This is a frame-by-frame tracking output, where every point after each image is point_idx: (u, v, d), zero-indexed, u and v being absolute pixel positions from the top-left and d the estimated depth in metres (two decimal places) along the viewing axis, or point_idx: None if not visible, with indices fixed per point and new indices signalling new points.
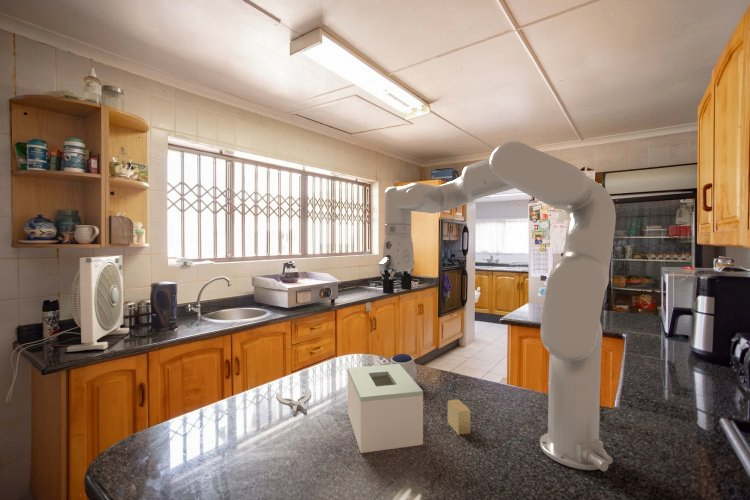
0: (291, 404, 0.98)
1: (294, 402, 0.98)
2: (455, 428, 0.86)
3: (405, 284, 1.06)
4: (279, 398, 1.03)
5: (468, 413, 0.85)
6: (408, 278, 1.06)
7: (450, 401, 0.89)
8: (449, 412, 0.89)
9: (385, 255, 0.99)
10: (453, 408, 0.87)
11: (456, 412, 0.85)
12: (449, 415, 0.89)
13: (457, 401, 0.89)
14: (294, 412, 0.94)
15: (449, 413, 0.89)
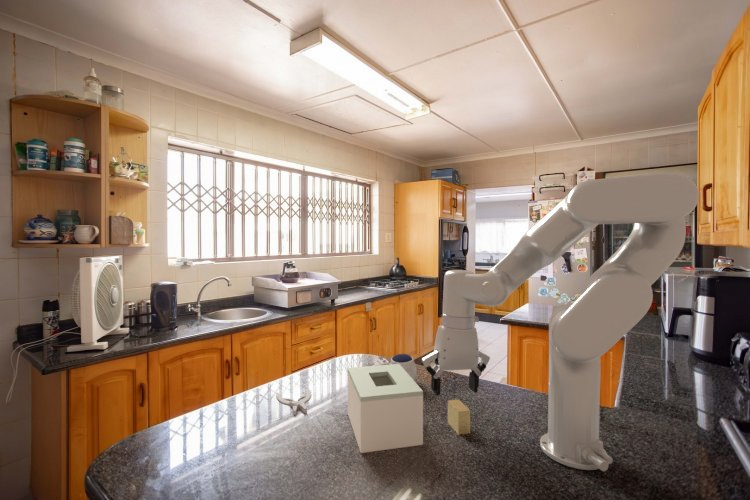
0: (291, 404, 0.98)
1: (294, 402, 0.98)
2: (455, 428, 0.86)
3: None
4: (279, 398, 1.03)
5: (468, 413, 0.85)
6: None
7: (450, 401, 0.89)
8: (449, 412, 0.89)
9: None
10: (453, 408, 0.87)
11: (456, 412, 0.85)
12: (449, 415, 0.89)
13: (457, 401, 0.89)
14: (294, 412, 0.94)
15: (449, 413, 0.89)
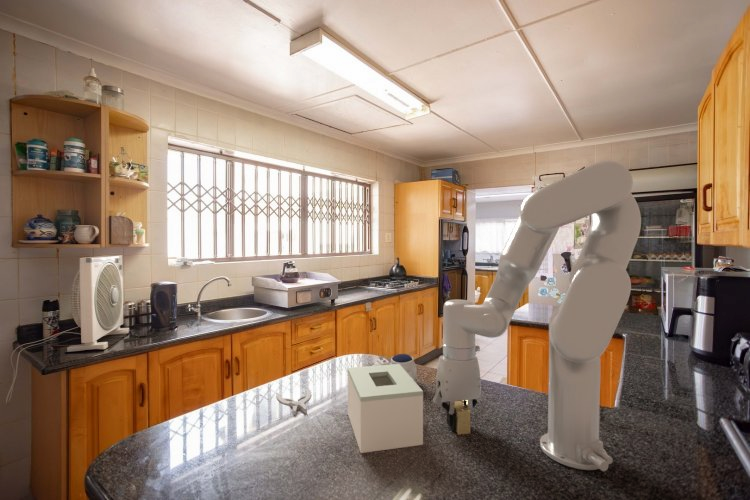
0: (291, 404, 0.98)
1: (294, 402, 0.98)
2: None
3: None
4: (279, 398, 1.03)
5: (468, 413, 0.85)
6: None
7: None
8: None
9: None
10: None
11: (456, 412, 0.85)
12: None
13: (457, 401, 0.89)
14: (294, 412, 0.94)
15: None
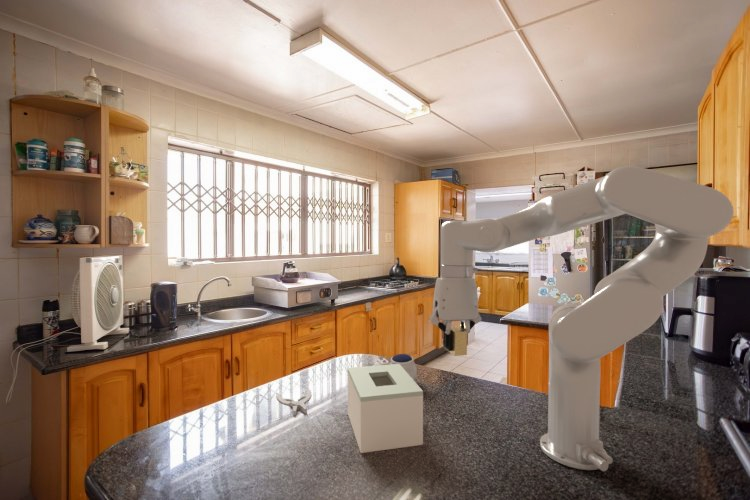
0: (291, 404, 0.98)
1: (294, 402, 0.98)
2: (452, 350, 0.85)
3: None
4: (279, 398, 1.03)
5: (465, 334, 0.84)
6: None
7: None
8: None
9: None
10: None
11: (453, 333, 0.85)
12: None
13: (454, 326, 0.89)
14: (294, 412, 0.94)
15: None
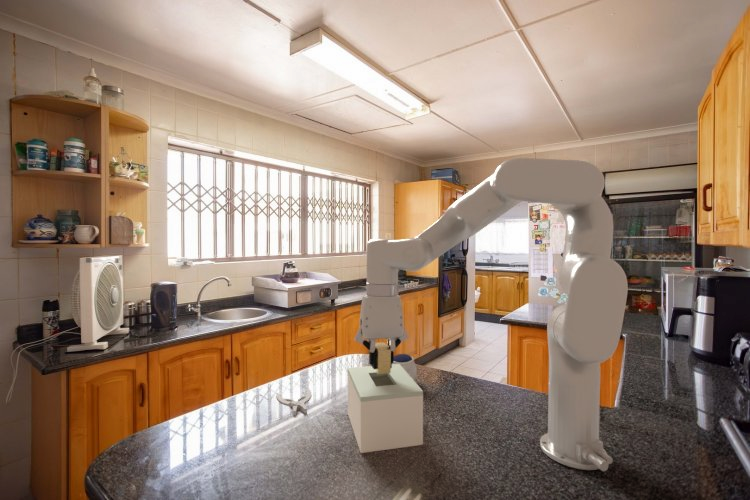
0: (291, 404, 0.98)
1: (294, 402, 0.98)
2: (376, 368, 0.85)
3: None
4: (279, 398, 1.02)
5: (388, 352, 0.84)
6: None
7: None
8: None
9: None
10: (375, 348, 0.86)
11: (377, 351, 0.85)
12: None
13: (382, 343, 0.89)
14: (294, 412, 0.94)
15: None
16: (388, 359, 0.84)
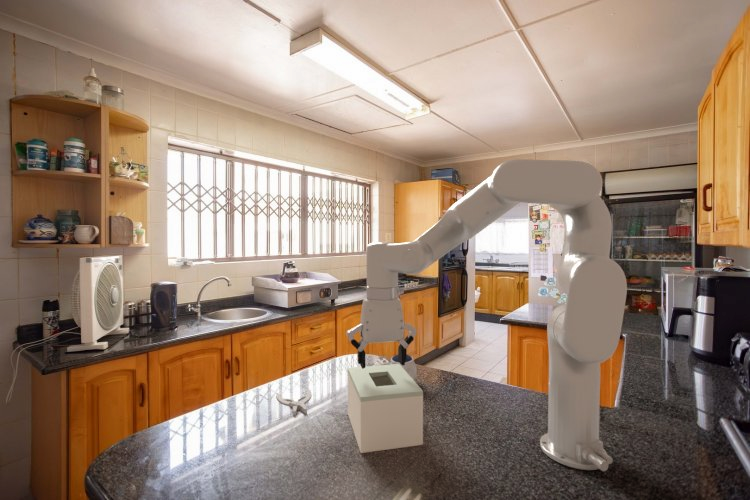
0: (291, 404, 0.98)
1: (294, 403, 0.98)
2: None
3: None
4: (279, 398, 1.02)
5: None
6: None
7: None
8: None
9: None
10: None
11: None
12: None
13: None
14: (294, 413, 0.93)
15: None
16: None
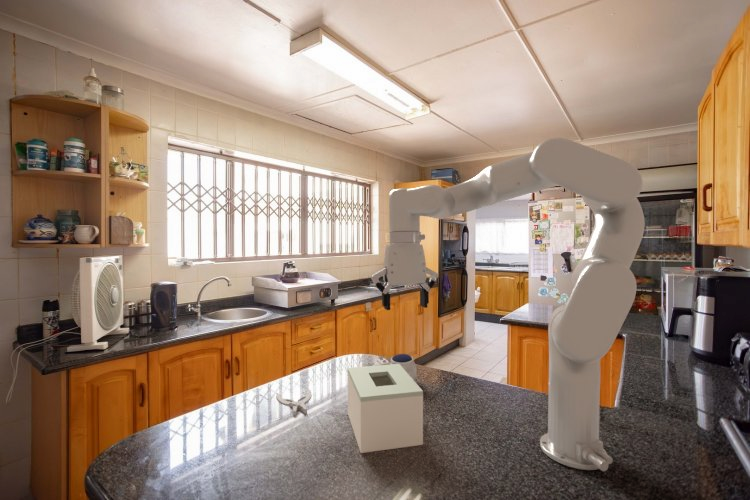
0: (291, 405, 0.98)
1: (294, 403, 0.98)
2: None
3: None
4: (279, 399, 1.02)
5: None
6: None
7: None
8: None
9: None
10: None
11: None
12: None
13: None
14: (294, 413, 0.93)
15: None
16: None
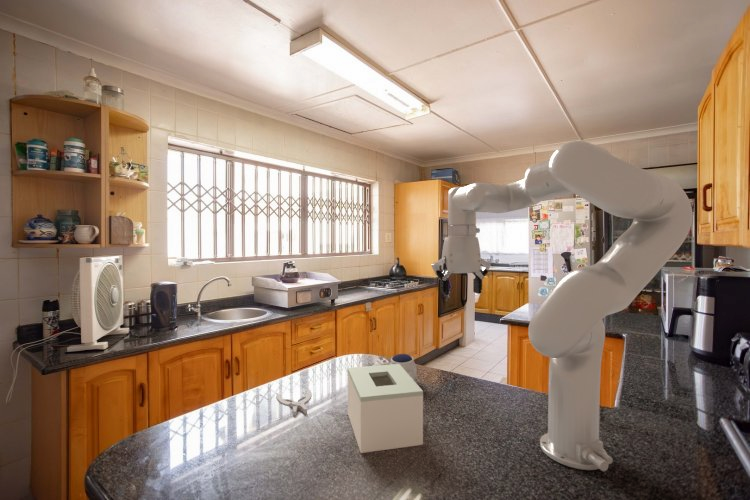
0: (291, 405, 0.98)
1: (294, 403, 0.98)
2: None
3: None
4: (279, 399, 1.02)
5: None
6: None
7: None
8: None
9: None
10: None
11: None
12: None
13: None
14: (294, 413, 0.93)
15: None
16: None
